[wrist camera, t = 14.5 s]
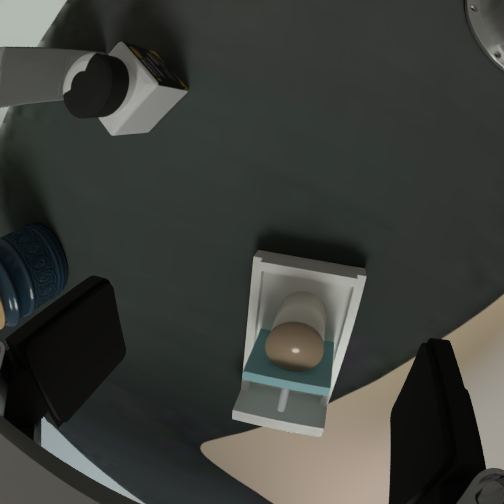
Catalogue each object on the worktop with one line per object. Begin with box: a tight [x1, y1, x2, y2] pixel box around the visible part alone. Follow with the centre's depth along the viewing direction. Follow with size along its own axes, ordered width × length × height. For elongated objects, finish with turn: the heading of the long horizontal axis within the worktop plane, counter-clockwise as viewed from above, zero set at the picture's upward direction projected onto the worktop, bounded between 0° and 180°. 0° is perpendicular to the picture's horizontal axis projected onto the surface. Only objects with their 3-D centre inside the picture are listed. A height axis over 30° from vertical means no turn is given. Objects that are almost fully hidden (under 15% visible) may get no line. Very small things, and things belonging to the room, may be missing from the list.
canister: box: [0, 223, 68, 329], centre depth 39 cm, size 13×13×18 cm
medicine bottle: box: [63, 42, 188, 136], centre depth 27 cm, size 7×7×12 cm
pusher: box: [242, 329, 334, 412], centre depth 36 cm, size 9×9×8 cm
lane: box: [232, 250, 366, 437], centre depth 37 cm, size 12×22×6 cm, turn 175°
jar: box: [265, 292, 327, 372], centre depth 34 cm, size 6×6×7 cm
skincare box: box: [0, 47, 105, 108], centre depth 27 cm, size 8×7×16 cm
